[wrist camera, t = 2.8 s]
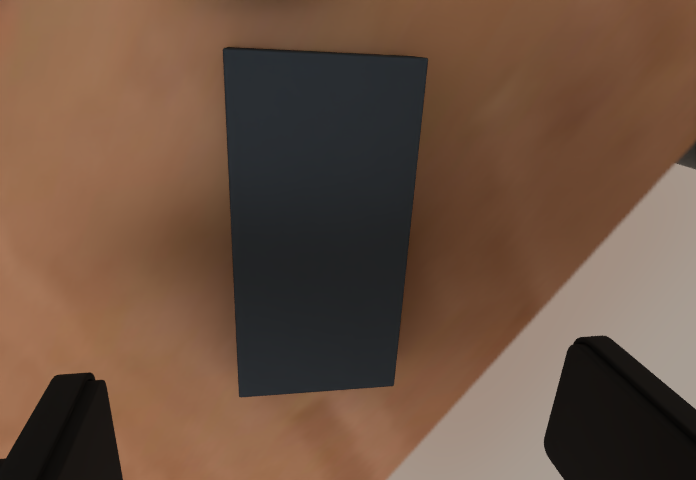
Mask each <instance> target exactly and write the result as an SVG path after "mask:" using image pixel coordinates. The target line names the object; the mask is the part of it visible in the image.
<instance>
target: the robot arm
mask: <svg viewBox="0 0 696 480" xmlns="http://www.w3.org/2000/svg"><path fill="white" fill-rule="evenodd" d="M544 447H545V451H546V453H547V455H548V457H549V459H550V460H551V462H552V463H553V464H554V466H555V467H556V469H557V470H558V472H559V473H560V474H561V476H562V477H563V478H564V480H696V409H695V408H693V407H692V406H691V405H690V404H689V403H687V402H686V401H685V400H684V399H683V398H681V397H680V396H679V395H678V394H677V393H675V392H674V391H673V390H672V389H671V388H669V387H668V386H667V385H666V384H665V383H663V382H662V381H661V380H660V379H659V378H657V377H656V376H655V375H654V374H653V373H651V372H650V371H649V370H648V369H647V368H645V367H644V366H643V365H642V364H641V363H639V362H638V361H637V360H636V359H635V358H633V357H632V356H631V355H630V354H629V353H627V352H626V351H625V350H624V349H623V348H621V347H620V346H619V345H618V344H616V343H615V342H614V341H613V340H612V339H610V338H609V337H607V336H591V337H580V338H577V339H576V341H575V342H574V344H573V345H571V346H570V347H569V349H568V351H567V355H566V358H565V362H564V366H563V369H562V373H561V377H560V381H559V385H558V388H557V392H556V396H555V400H554V404H553V407H552V411H551V415H550V418H549V422H548V426H547V430H546V434H545V437H544ZM0 480H123V478H122V472H121V466H120V461H119V455H118V449H117V444H116V438H115V432H114V426H113V421H112V415H111V409H110V404H109V398H108V392H107V387H106V383H105V381H104V380H95V377H94V375H93V373H77V374H63V375H56V376H54V378H53V379H52V380H51V382H50V384H49V385H48V387H47V389H46V391H45V392H44V394H43V396H42V397H41V399H40V401H39V403H38V404H37V406H36V408H35V409H34V411H33V413H32V415H31V416H30V418H29V420H28V421H27V423H26V425H25V427H24V428H23V430H22V432H21V434H20V435H19V437H18V439H17V440H16V442H15V444H14V446H13V447H12V449H11V451H10V452H9V454H8V456H7V458H6V459H0Z"/></svg>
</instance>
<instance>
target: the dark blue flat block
mask: <svg viewBox="0 0 696 480" xmlns="http://www.w3.org/2000/svg"><path fill="white" fill-rule="evenodd" d="M223 63H224V85H225V106H226V127H227V149H228V170H229V191H230V213H231V234H232V256H233V277H234V298H235V320H236V341H237V362H238V384H239V397H252V396H266V395H279V394H293V393H306V392H319V391H333V390H346V389H360V388H373V387H386V386H394V379H395V369H396V360H397V350H398V341H399V331H400V322H401V312H402V303H403V293H404V284H405V274H406V265H407V255H408V246H409V236H410V227H411V217H412V208H413V198H414V189H415V179H416V170H417V160H418V151H419V141H420V132H421V122H422V113H423V103H424V93H425V84H426V74H427V65H428V59H427V58H423V57H415V56H399V55H378V54H358V53H337V52H317V51H296V50H276V49H256V48H235V47H227V48H224V49H223Z"/></svg>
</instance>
